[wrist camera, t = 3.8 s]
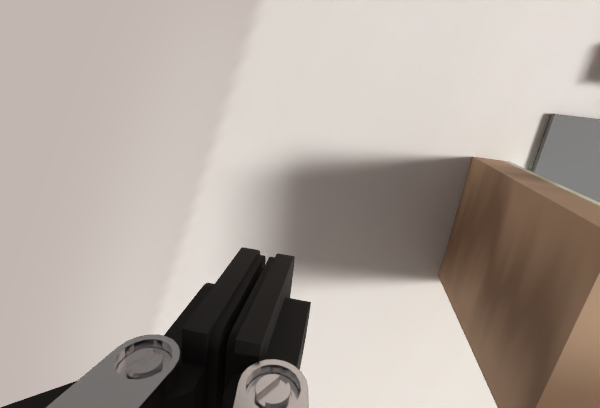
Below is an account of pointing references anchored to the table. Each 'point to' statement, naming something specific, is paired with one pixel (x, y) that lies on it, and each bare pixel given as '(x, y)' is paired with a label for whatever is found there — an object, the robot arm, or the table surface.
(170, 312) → the table surface
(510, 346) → the brown wooden block
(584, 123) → the mat
